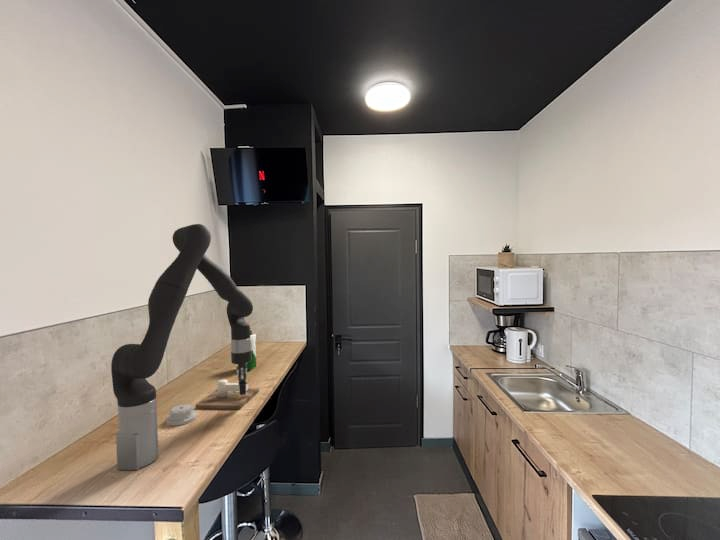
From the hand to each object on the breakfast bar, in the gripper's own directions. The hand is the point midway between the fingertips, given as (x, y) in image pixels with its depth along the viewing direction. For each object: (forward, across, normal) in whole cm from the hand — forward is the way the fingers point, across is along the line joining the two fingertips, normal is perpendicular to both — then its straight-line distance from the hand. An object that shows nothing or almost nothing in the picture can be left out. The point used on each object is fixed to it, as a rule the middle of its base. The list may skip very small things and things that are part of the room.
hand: (242, 394), depth 133 cm
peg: (+3, +9, +4) cm, 11 cm away
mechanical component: (+6, -3, +21) cm, 22 cm away
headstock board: (+5, +10, +6) cm, 13 cm away
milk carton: (+5, +52, -2) cm, 52 cm away
